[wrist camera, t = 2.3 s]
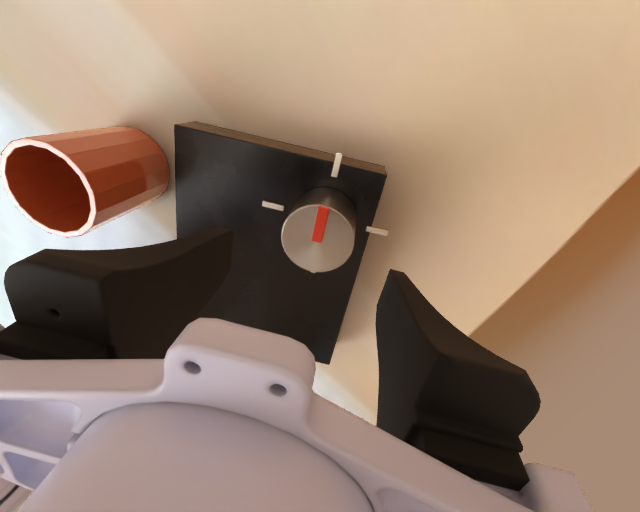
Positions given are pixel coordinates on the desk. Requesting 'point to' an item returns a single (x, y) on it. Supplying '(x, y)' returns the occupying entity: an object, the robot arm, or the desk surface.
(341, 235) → the dial
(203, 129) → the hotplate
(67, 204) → the cup
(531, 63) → the desk surface
